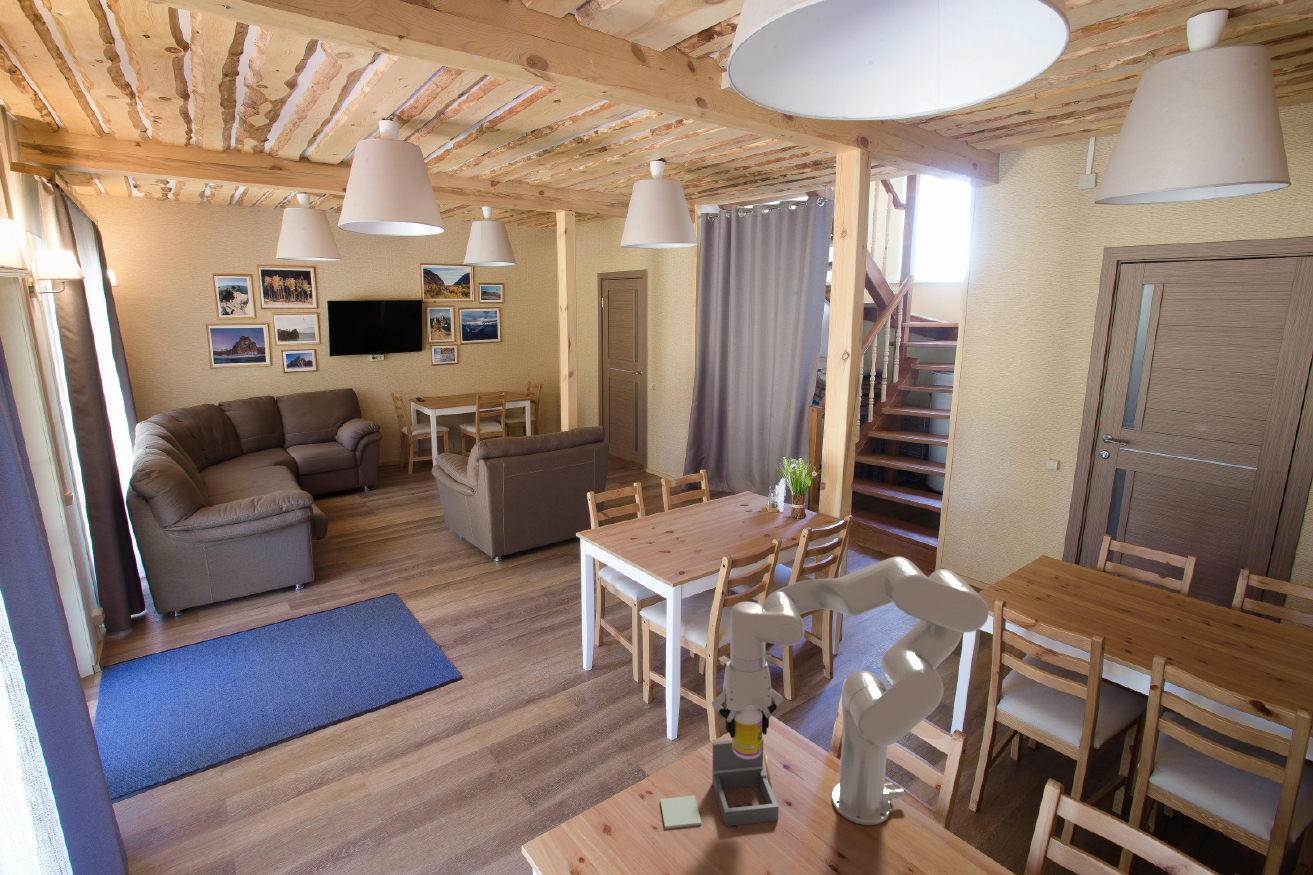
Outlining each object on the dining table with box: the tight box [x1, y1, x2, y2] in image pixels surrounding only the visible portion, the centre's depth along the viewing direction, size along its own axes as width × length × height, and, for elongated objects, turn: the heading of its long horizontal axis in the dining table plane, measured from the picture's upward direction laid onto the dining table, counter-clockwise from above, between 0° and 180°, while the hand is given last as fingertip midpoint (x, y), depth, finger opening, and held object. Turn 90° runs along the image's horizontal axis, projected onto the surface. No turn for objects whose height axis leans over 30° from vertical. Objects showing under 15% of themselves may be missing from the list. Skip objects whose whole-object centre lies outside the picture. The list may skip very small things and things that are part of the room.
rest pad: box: [659, 795, 702, 830], centre depth 143 cm, size 8×8×1 cm
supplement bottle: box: [731, 705, 763, 759], centre depth 142 cm, size 7×7×13 cm
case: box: [711, 737, 779, 827], centre depth 145 cm, size 13×13×11 cm
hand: (747, 731), depth 142 cm, fingers closed on supplement bottle, 6 cm apart
